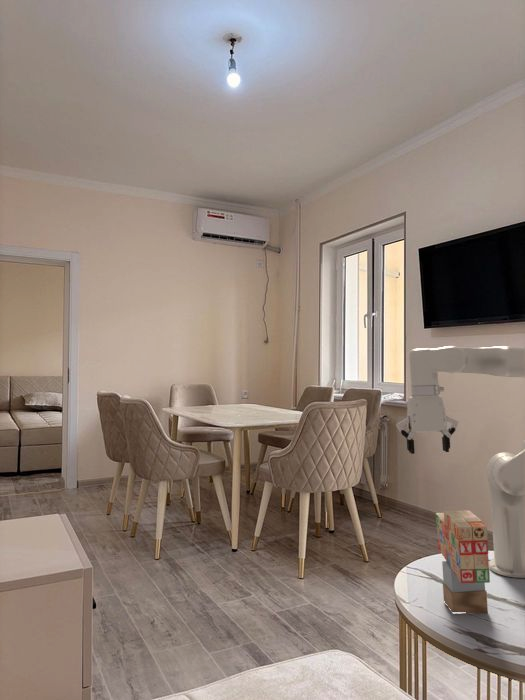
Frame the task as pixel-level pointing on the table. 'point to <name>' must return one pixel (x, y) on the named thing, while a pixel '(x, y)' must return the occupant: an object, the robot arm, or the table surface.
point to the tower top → (454, 582)
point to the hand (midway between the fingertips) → (428, 452)
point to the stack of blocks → (464, 545)
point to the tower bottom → (466, 601)
